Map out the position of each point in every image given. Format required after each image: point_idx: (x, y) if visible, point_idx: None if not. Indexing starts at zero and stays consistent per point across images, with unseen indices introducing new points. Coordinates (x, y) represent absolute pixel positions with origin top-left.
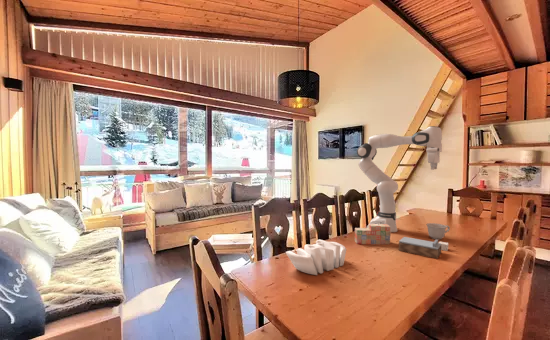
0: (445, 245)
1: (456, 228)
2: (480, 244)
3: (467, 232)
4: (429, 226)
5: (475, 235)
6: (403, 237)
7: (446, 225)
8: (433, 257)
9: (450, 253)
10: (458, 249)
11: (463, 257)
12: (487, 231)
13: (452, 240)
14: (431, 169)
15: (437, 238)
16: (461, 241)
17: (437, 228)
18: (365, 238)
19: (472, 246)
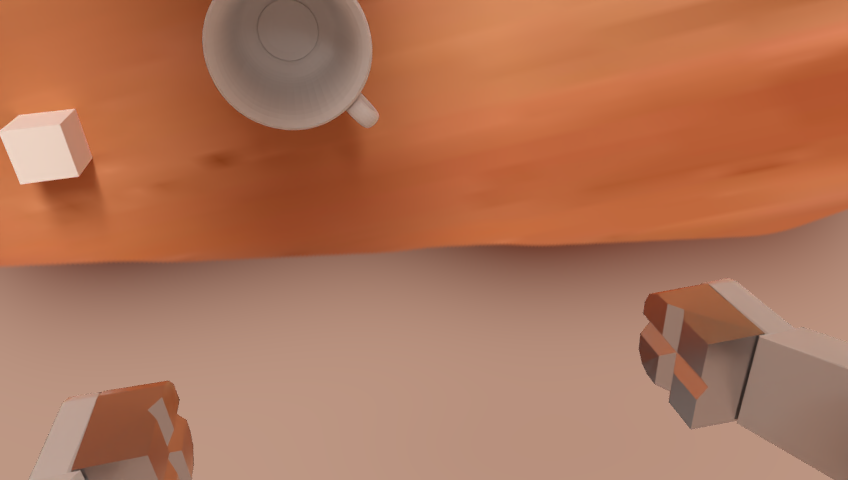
0: (18, 172)
1: (728, 53)
2: (390, 249)
3: (645, 135)
4: (208, 10)
5: (591, 186)
6: None
7: (360, 112)
8: None
9: (31, 185)
10: (168, 195)
11: (26, 251)
12: (735, 211)
13: None
14: (77, 409)
15: (248, 51)
16: (376, 163)
17: (220, 77)
18: None
19: (309, 231)
